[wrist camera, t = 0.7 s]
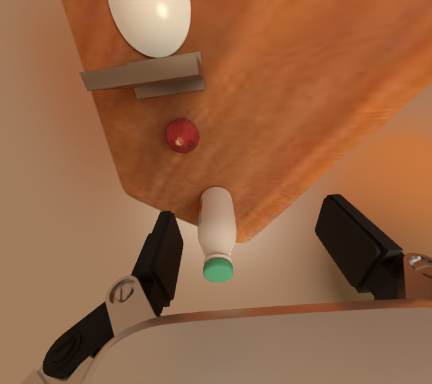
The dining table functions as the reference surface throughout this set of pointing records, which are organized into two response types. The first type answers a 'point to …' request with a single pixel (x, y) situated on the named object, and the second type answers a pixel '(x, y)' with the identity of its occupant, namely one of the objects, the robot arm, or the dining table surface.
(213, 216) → the milk bottle
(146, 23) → the coaster
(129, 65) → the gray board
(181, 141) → the onion
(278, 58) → the dining table surface
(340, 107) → the dining table surface
